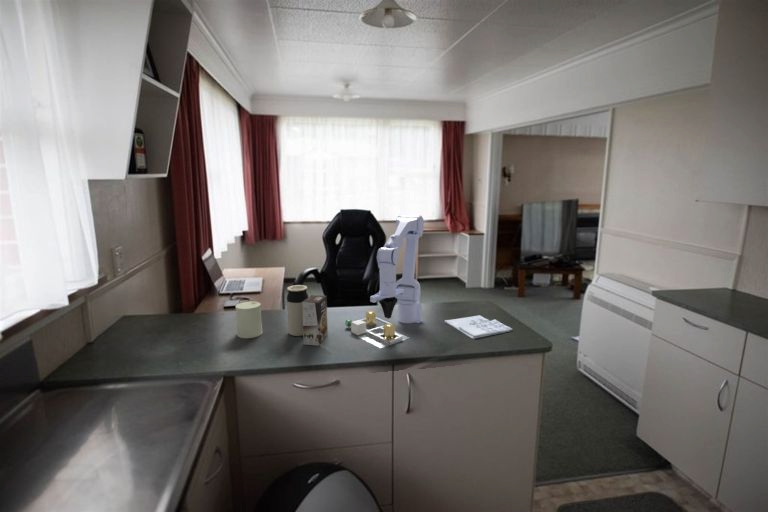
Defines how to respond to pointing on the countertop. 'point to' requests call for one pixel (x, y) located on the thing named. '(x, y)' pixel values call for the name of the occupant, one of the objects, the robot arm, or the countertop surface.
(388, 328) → the billet
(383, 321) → the tray
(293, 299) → the travel mug
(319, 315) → the coffee box
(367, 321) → the cylinder
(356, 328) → the white block
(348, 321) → the knob
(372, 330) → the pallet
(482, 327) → the white printed book
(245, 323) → the can
